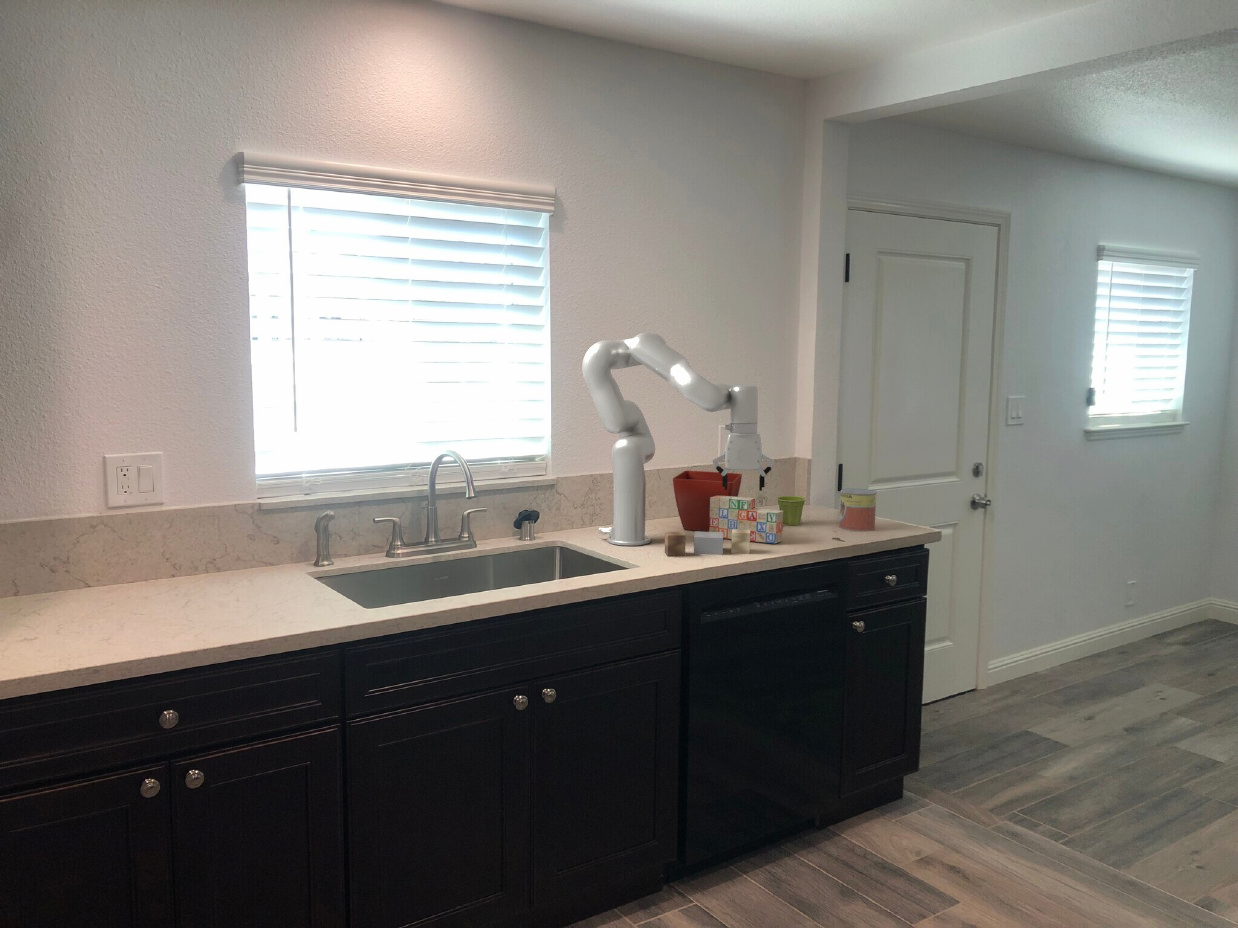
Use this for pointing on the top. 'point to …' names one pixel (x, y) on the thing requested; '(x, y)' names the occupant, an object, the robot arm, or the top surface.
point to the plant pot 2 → (791, 509)
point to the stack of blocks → (745, 519)
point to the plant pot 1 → (701, 495)
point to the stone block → (708, 543)
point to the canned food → (857, 510)
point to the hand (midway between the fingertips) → (743, 489)
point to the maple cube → (740, 541)
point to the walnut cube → (675, 544)
